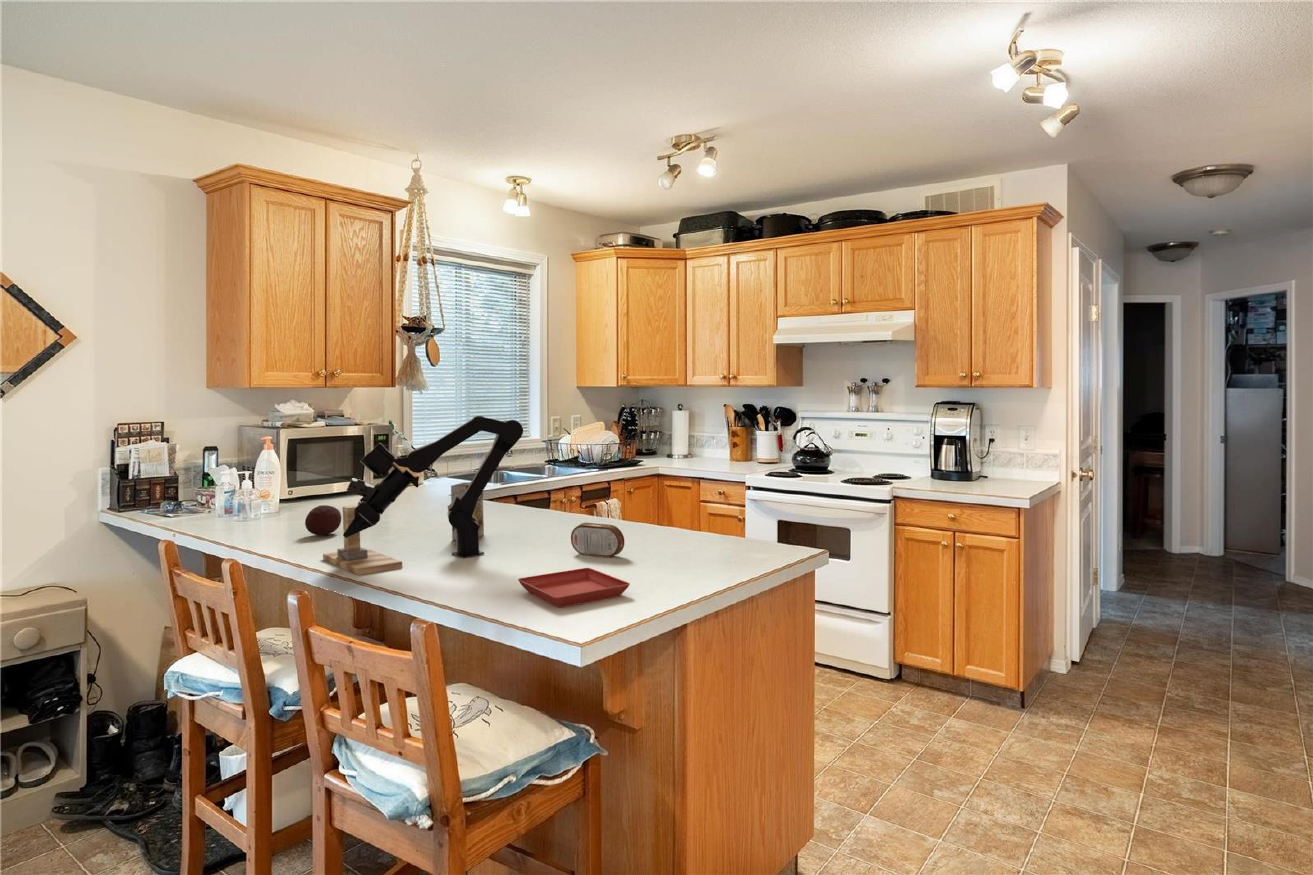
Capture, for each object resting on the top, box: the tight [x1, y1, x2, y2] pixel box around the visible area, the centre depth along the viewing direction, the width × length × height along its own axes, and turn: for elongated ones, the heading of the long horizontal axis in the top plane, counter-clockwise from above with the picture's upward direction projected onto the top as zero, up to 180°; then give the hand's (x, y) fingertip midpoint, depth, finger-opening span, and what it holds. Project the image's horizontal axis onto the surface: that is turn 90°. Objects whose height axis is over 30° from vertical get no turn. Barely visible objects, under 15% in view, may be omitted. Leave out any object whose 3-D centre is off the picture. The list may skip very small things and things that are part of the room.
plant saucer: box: [517, 567, 631, 608], centre depth 167 cm, size 18×18×3 cm
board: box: [322, 547, 403, 576], centre depth 199 cm, size 24×11×2 cm, turn 42°
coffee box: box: [450, 481, 485, 541], centre depth 232 cm, size 9×6×16 cm
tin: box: [570, 522, 626, 558], centre depth 205 cm, size 15×3×8 cm, turn 65°
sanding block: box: [336, 505, 368, 561], centre depth 199 cm, size 7×5×13 cm
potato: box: [304, 504, 342, 537], centre depth 238 cm, size 9×12×9 cm
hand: (345, 533), depth 199 cm, fingers open, 8 cm apart
